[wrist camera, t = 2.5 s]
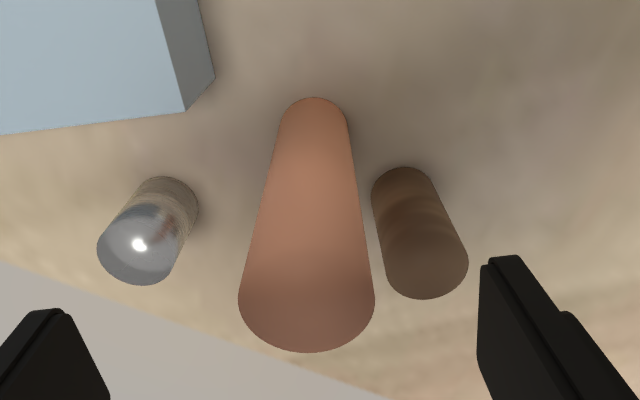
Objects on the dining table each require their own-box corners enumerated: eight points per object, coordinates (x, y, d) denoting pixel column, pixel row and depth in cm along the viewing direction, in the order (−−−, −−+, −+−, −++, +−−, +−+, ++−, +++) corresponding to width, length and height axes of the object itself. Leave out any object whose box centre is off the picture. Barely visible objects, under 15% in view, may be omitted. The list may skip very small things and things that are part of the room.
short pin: (189, 173, 22) (160, 219, 18) (205, 227, 24) (182, 281, 20) (127, 180, 22) (84, 228, 18) (146, 234, 24) (111, 289, 20)
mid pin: (433, 163, 22) (469, 228, 17) (434, 219, 23) (467, 295, 18) (368, 171, 22) (383, 238, 17) (372, 225, 24) (388, 303, 18)
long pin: (344, 93, 20) (369, 239, 10) (350, 158, 22) (379, 346, 11) (274, 102, 20) (224, 255, 10) (285, 165, 22) (252, 358, 11)
